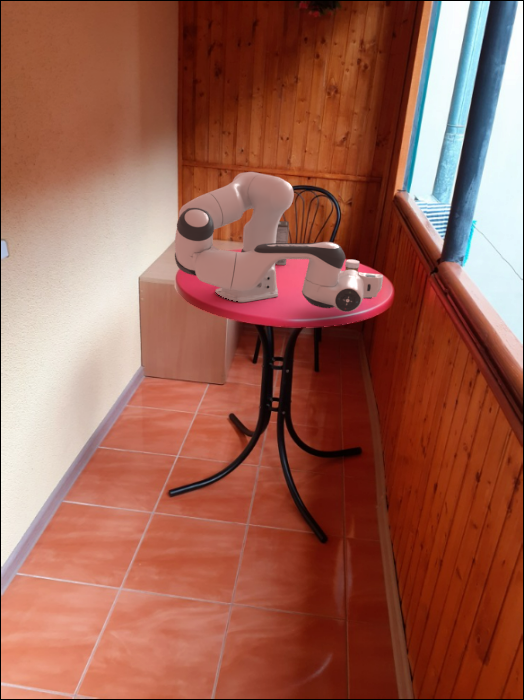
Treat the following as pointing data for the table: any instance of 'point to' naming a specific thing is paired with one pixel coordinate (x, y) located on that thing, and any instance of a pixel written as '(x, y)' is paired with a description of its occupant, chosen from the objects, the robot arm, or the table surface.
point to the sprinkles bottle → (352, 265)
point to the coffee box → (282, 237)
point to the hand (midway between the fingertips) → (351, 272)
